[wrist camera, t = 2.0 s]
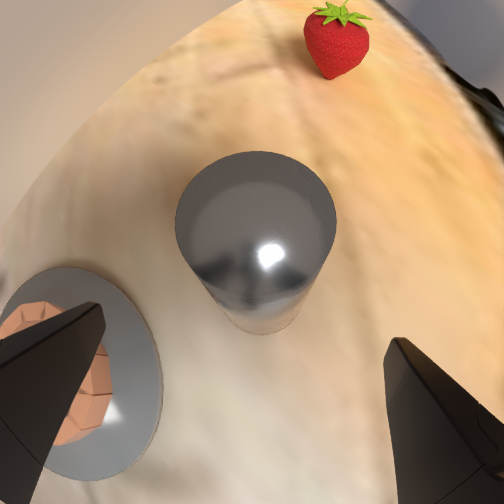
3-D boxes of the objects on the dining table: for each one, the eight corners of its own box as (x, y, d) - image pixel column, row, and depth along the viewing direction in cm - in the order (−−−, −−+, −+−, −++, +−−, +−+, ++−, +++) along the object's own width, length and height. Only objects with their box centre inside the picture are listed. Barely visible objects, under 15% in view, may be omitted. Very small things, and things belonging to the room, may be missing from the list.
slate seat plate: (124, 514, 14) (103, 532, 11) (-15, 401, 17) (-42, 400, 14) (200, 322, 19) (186, 313, 16) (39, 244, 22) (15, 227, 19)
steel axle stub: (285, 346, 19) (308, 320, 8) (210, 318, 19) (148, 260, 9) (310, 273, 20) (351, 176, 10) (239, 249, 21) (214, 137, 11)
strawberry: (344, 58, 29) (356, -16, 19) (369, 100, 26) (392, 15, 17) (293, 59, 29) (296, -20, 19) (311, 101, 26) (321, 8, 16)
